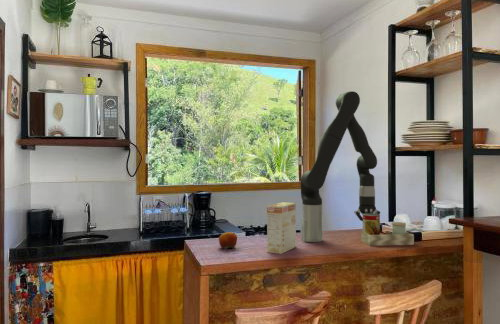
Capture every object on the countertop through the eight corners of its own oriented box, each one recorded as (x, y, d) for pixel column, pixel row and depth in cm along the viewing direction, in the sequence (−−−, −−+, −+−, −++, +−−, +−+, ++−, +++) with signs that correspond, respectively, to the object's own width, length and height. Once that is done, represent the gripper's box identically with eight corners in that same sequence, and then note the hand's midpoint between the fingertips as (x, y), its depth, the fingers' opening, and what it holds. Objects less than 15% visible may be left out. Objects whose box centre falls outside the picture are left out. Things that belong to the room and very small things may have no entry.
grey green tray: (369, 245, 164) (369, 235, 164) (361, 240, 174) (361, 231, 174) (413, 244, 165) (413, 234, 165) (403, 240, 175) (403, 230, 175)
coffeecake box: (282, 245, 166) (281, 201, 166) (296, 246, 162) (296, 202, 163) (266, 252, 153) (266, 205, 153) (281, 254, 150) (281, 206, 150)
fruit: (225, 248, 155) (221, 230, 158) (219, 254, 161) (215, 237, 164) (242, 246, 158) (238, 228, 162) (235, 252, 164) (231, 235, 168)
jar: (395, 243, 167) (395, 224, 167) (390, 241, 173) (390, 222, 173) (408, 243, 167) (408, 223, 167) (402, 241, 173) (402, 221, 173)
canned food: (382, 240, 174) (382, 215, 174) (365, 240, 174) (365, 215, 174) (376, 237, 182) (376, 213, 182) (360, 237, 182) (360, 213, 182)
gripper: (356, 195, 179) (356, 231, 179) (383, 195, 180) (383, 231, 180) (351, 194, 187) (351, 228, 186) (376, 194, 187) (377, 228, 187)
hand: (367, 229), depth 183 cm, fingers closed
